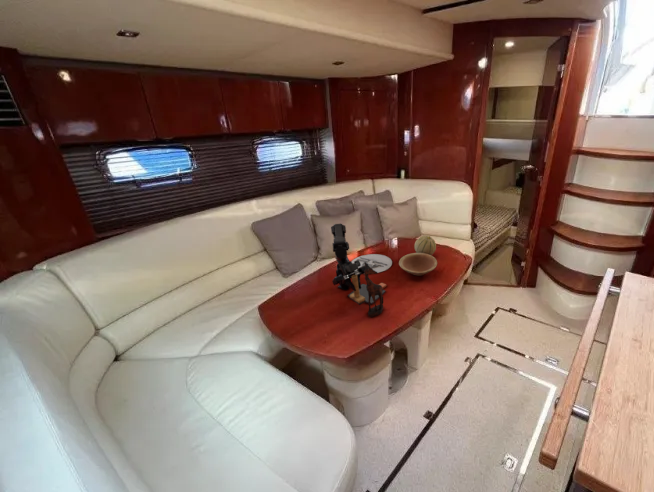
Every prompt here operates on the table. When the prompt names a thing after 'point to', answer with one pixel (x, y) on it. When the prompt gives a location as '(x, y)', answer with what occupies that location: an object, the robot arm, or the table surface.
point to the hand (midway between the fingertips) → (358, 289)
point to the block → (383, 285)
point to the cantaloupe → (425, 245)
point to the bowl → (418, 263)
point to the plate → (375, 262)
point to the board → (364, 293)
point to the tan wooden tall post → (356, 292)
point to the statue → (373, 292)
